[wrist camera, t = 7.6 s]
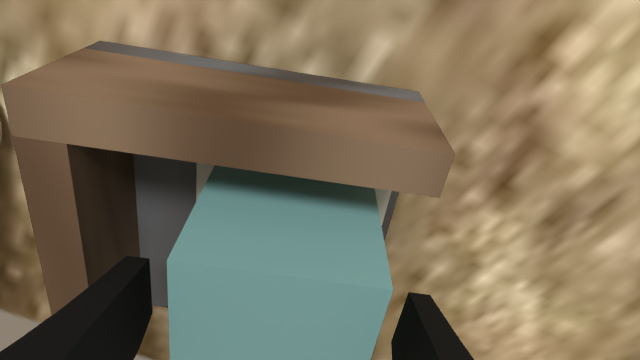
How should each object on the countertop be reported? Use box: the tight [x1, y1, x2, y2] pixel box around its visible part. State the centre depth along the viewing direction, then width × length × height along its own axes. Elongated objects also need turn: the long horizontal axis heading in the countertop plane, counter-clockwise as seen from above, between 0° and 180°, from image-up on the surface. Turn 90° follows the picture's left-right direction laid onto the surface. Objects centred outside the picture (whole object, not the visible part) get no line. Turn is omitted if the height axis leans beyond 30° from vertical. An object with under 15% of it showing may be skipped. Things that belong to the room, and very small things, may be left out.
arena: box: [1, 41, 455, 315], centre depth 14 cm, size 10×10×4 cm
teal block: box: [167, 165, 393, 360], centre depth 13 cm, size 5×5×5 cm
